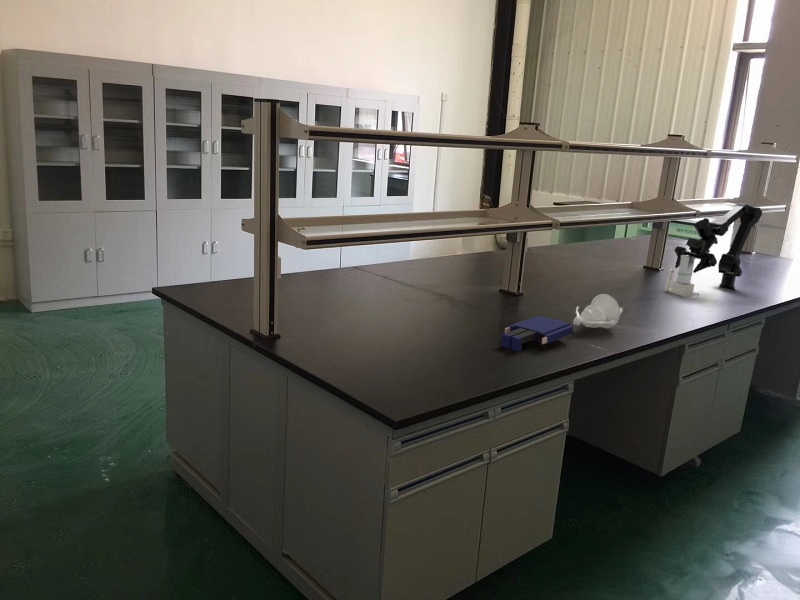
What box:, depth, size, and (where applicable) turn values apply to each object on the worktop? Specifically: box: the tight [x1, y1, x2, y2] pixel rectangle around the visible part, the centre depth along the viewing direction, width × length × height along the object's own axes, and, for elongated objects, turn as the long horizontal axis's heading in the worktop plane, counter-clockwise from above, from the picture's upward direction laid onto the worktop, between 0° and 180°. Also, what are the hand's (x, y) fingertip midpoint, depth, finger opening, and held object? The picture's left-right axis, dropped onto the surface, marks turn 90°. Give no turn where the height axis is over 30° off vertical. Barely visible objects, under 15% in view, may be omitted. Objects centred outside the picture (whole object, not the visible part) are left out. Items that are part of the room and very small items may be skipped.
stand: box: [663, 268, 700, 297], centre depth 293 cm, size 10×11×10 cm
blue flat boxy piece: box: [501, 315, 574, 353], centre depth 213 cm, size 15×6×25 cm
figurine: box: [572, 293, 624, 329], centre depth 229 cm, size 17×12×25 cm
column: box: [676, 255, 697, 285], centre depth 292 cm, size 4×4×13 cm
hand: (684, 269), depth 291 cm, fingers open, 9 cm apart
